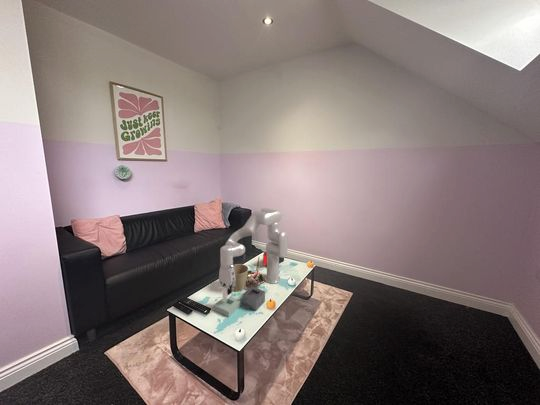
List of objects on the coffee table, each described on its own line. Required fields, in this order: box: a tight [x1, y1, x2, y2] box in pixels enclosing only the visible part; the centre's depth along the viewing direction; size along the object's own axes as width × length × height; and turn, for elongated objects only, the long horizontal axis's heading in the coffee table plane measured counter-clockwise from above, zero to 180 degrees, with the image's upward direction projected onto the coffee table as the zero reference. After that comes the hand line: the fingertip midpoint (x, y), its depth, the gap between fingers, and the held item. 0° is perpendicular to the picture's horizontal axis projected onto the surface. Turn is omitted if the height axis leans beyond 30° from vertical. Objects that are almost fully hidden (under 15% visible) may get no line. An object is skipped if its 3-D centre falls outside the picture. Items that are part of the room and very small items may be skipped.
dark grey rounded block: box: [241, 286, 266, 312], centre depth 136 cm, size 11×11×8 cm
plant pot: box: [232, 263, 249, 292], centre depth 152 cm, size 15×15×16 cm
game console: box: [262, 252, 285, 268], centre depth 191 cm, size 28×6×15 cm, turn 138°
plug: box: [222, 284, 232, 299], centre depth 130 cm, size 4×3×7 cm
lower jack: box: [213, 295, 242, 318], centre depth 132 cm, size 12×12×4 cm
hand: (227, 292), depth 130 cm, fingers closed on plug, 3 cm apart
